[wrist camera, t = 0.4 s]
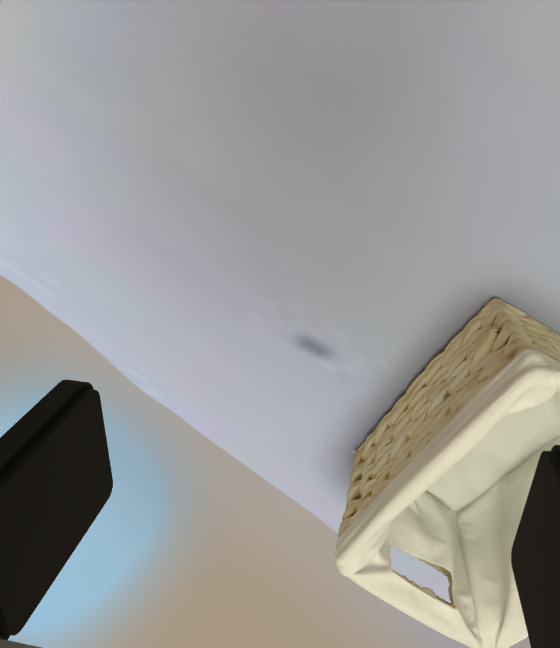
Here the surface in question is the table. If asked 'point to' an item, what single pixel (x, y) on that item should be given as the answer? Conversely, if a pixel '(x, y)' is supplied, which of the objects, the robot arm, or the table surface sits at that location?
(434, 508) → the storage basket
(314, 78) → the table surface
